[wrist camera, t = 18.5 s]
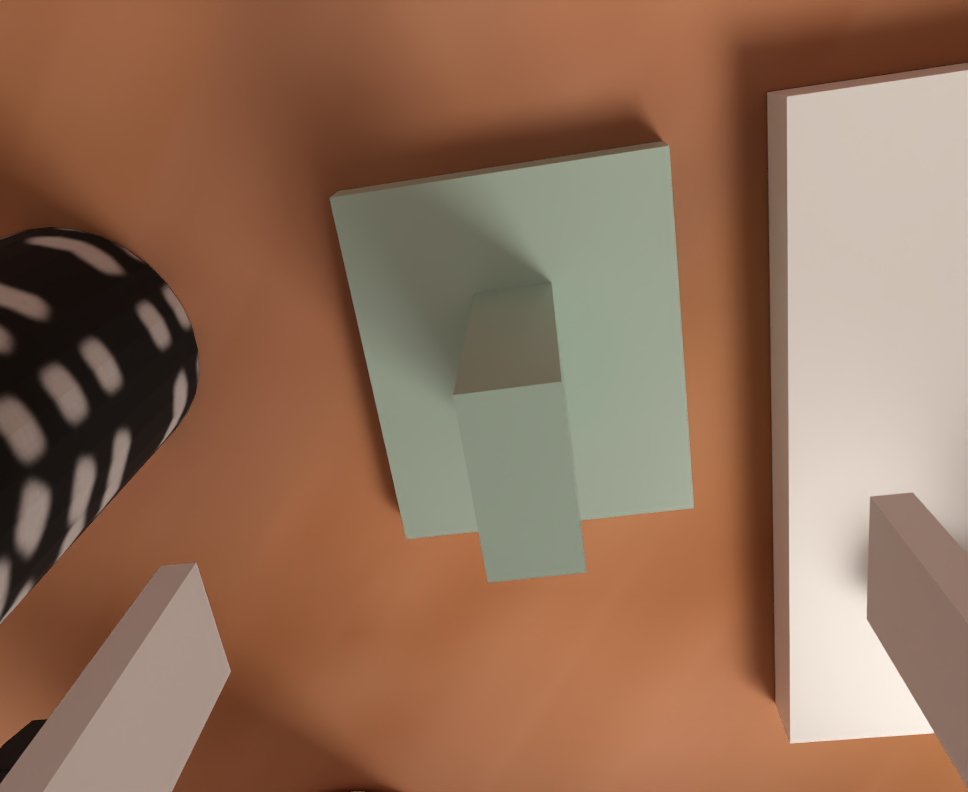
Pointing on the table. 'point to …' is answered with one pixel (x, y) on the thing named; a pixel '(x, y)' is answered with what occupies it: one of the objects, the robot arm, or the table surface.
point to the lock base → (861, 370)
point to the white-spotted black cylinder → (79, 389)
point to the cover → (524, 348)
